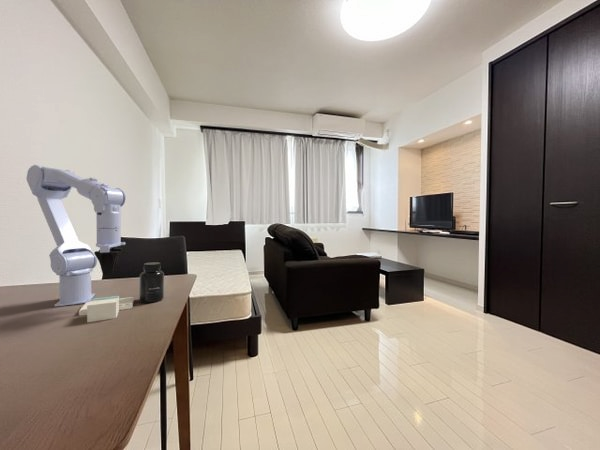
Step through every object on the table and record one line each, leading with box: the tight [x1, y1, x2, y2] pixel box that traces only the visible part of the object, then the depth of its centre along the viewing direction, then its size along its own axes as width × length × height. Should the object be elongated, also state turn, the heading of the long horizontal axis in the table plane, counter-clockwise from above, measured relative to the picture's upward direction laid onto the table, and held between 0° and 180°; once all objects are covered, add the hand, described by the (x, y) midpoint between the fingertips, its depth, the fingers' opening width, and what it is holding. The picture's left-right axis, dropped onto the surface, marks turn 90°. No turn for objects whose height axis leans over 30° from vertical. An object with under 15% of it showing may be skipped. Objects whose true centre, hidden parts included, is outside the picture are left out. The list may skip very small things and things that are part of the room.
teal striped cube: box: [86, 295, 120, 323], centre depth 68 cm, size 6×6×5 cm
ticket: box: [78, 296, 135, 316], centre depth 75 cm, size 8×12×1 cm, turn 119°
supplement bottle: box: [138, 261, 165, 304], centre depth 82 cm, size 7×7×12 cm
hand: (109, 273), depth 75 cm, fingers open, 4 cm apart
